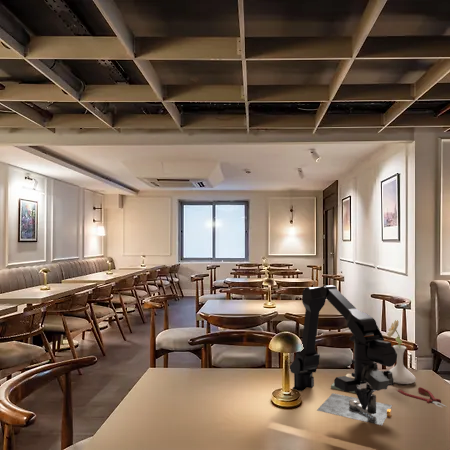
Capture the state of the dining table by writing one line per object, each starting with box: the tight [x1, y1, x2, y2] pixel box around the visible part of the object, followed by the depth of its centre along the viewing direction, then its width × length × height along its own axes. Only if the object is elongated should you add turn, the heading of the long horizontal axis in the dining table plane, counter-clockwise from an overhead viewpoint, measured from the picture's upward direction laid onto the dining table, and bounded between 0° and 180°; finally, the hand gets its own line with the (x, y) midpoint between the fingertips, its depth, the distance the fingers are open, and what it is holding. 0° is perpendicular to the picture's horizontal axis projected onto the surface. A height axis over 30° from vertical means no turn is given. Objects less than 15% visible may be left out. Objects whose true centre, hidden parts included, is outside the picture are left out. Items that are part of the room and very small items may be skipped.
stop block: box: [345, 373, 355, 379], centre depth 149 cm, size 4×4×5 cm
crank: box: [349, 393, 377, 415], centre depth 127 cm, size 10×4×6 cm, turn 28°
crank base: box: [316, 393, 393, 426], centre depth 130 cm, size 21×17×3 cm
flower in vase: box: [386, 319, 417, 385], centre depth 158 cm, size 13×11×25 cm
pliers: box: [397, 386, 447, 408], centre depth 137 cm, size 11×20×3 cm, turn 15°
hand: (364, 409), depth 122 cm, fingers closed
